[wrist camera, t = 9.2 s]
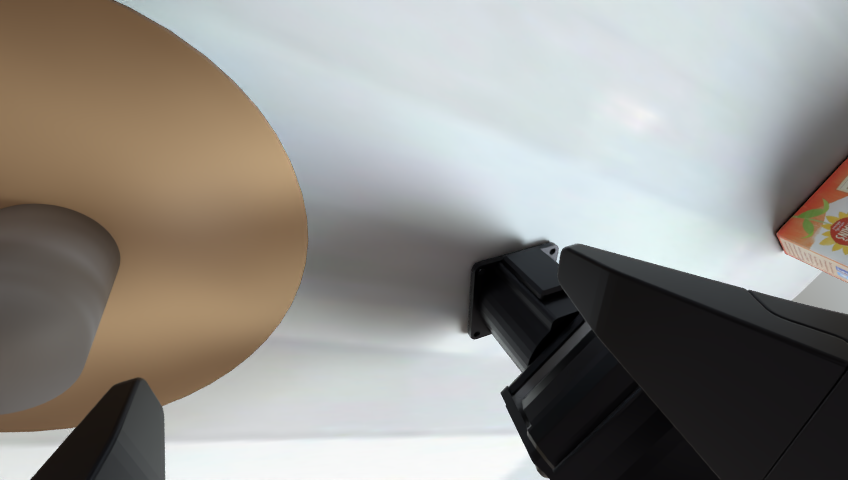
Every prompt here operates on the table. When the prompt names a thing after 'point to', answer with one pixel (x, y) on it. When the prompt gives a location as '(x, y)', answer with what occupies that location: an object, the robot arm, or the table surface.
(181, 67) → the lid
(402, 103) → the table surface
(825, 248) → the cracker box
